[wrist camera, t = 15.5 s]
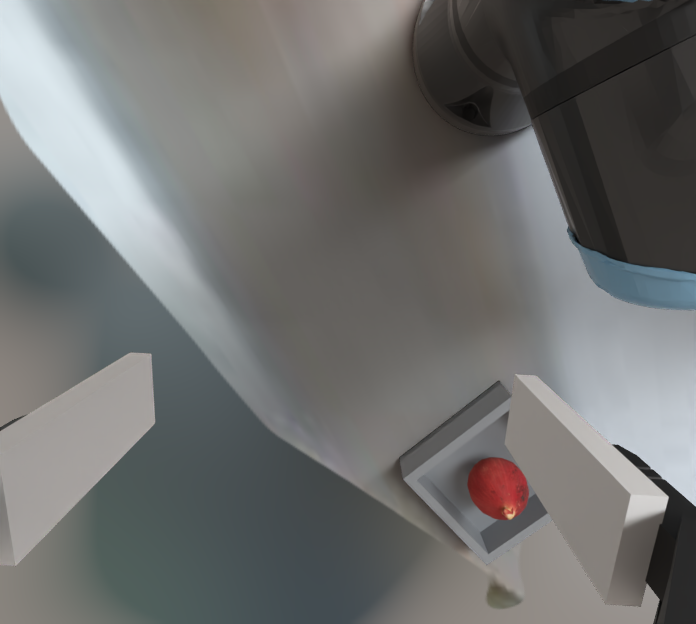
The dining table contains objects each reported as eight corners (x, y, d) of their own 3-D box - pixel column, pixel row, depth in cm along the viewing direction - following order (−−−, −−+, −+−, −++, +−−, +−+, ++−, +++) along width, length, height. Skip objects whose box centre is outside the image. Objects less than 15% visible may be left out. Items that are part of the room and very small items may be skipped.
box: (498, 380, 45) (511, 396, 41) (575, 468, 47) (595, 491, 43) (399, 457, 48) (402, 479, 44) (476, 537, 50) (486, 565, 46)
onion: (506, 436, 46) (536, 482, 38) (519, 481, 47) (550, 534, 39) (454, 450, 46) (473, 498, 39) (468, 494, 48) (489, 549, 40)
